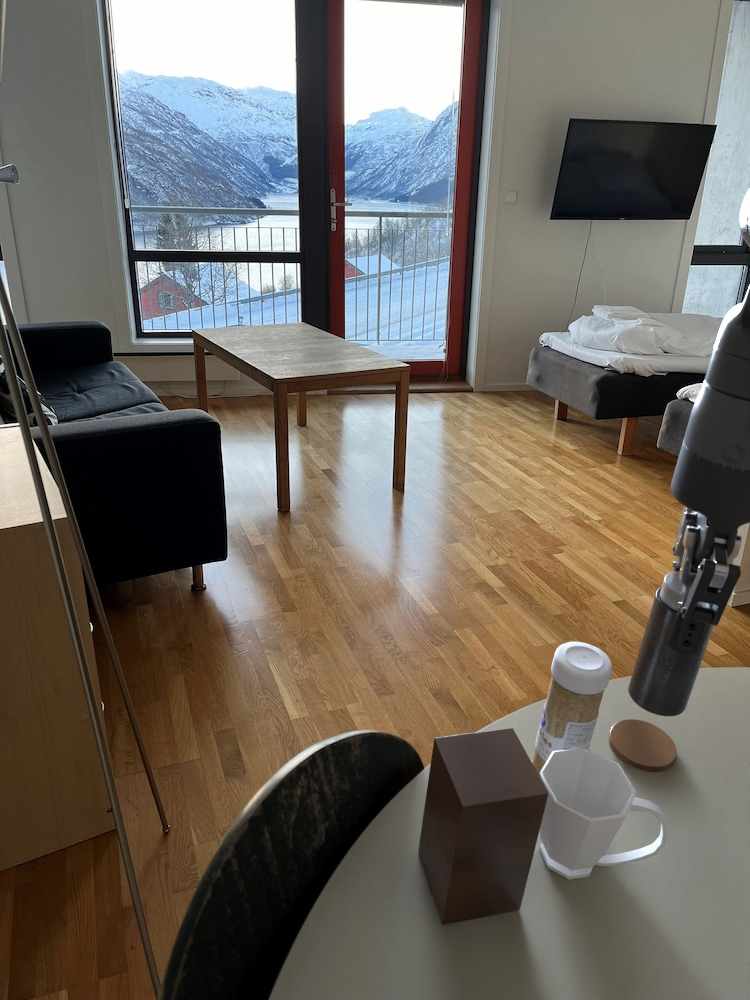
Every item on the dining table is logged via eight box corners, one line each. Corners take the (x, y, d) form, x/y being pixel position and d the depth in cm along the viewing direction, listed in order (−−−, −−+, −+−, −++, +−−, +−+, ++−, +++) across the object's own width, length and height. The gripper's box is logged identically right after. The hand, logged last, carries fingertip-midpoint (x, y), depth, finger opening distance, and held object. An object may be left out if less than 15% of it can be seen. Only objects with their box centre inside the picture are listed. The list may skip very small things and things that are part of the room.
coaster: (651, 720, 72) (653, 715, 72) (688, 766, 67) (690, 762, 67) (597, 727, 71) (598, 722, 71) (630, 776, 66) (631, 771, 65)
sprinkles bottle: (520, 760, 66) (546, 640, 60) (568, 756, 67) (598, 638, 61) (538, 801, 62) (568, 677, 56) (588, 797, 63) (623, 674, 57)
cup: (523, 809, 62) (539, 738, 58) (646, 835, 60) (671, 763, 56) (521, 884, 55) (540, 810, 52) (659, 915, 54) (687, 840, 50)
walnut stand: (489, 839, 59) (512, 727, 53) (520, 910, 54) (549, 793, 48) (417, 852, 57) (434, 737, 52) (442, 925, 52) (462, 807, 47)
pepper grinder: (665, 675, 69) (699, 566, 63) (697, 713, 65) (738, 600, 59) (617, 681, 68) (648, 570, 62) (647, 719, 63) (684, 605, 58)
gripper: (814, 495, 48) (737, 695, 56) (773, 423, 60) (715, 595, 68) (693, 475, 50) (635, 671, 57) (677, 409, 62) (631, 578, 70)
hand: (679, 629), depth 63 cm, fingers closed on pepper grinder, 5 cm apart
